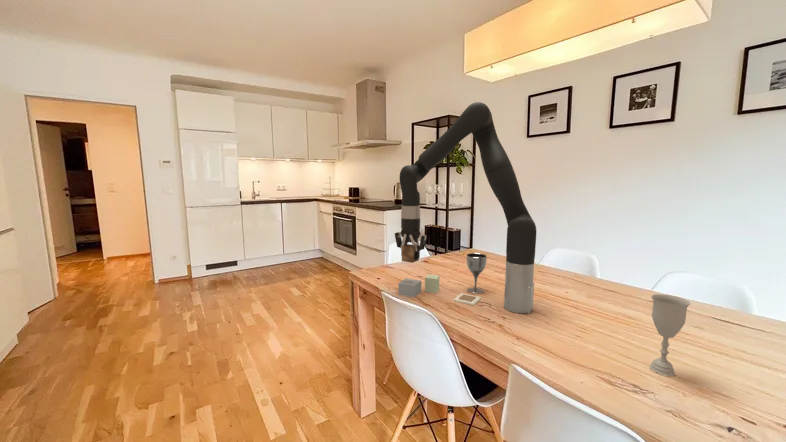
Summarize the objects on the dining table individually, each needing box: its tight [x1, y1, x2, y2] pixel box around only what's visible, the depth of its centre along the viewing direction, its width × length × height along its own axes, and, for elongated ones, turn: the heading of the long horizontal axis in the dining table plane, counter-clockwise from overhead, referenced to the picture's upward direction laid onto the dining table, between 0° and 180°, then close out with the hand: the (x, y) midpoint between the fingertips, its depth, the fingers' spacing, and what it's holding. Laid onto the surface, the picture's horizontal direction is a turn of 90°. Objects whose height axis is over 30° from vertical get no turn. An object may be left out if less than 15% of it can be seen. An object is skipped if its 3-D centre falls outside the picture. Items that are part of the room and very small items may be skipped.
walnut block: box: [401, 243, 420, 263], centre depth 128 cm, size 5×5×6 cm
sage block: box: [424, 274, 440, 294], centre depth 134 cm, size 5×5×6 cm
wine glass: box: [466, 252, 488, 294], centre depth 133 cm, size 8×8×15 cm
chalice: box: [649, 293, 692, 377], centre depth 77 cm, size 7×7×18 cm
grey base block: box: [397, 277, 422, 299], centre depth 130 cm, size 7×7×5 cm
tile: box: [453, 293, 482, 306], centre depth 124 cm, size 8×8×1 cm
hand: (410, 258), depth 129 cm, fingers closed on walnut block, 5 cm apart
